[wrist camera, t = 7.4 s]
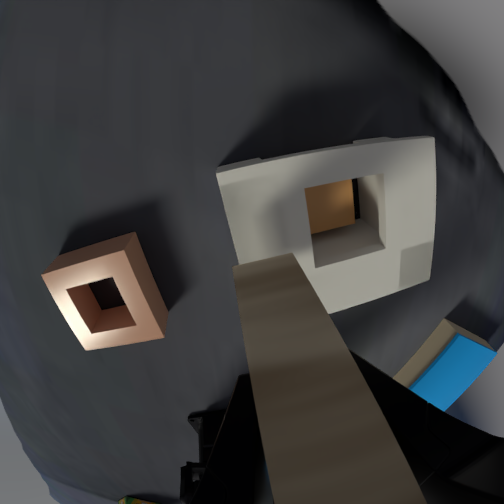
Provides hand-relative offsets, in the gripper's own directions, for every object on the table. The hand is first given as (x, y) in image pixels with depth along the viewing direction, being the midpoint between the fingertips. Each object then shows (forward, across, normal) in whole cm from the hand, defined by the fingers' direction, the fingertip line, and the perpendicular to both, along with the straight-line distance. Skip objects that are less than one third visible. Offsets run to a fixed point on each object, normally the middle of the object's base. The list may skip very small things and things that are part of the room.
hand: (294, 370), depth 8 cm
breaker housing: (+13, -5, -1) cm, 14 cm away
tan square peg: (+5, 0, 0) cm, 5 cm away
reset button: (+12, -5, -1) cm, 13 cm away
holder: (+13, +11, +2) cm, 17 cm away
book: (+14, -18, +30) cm, 38 cm away
